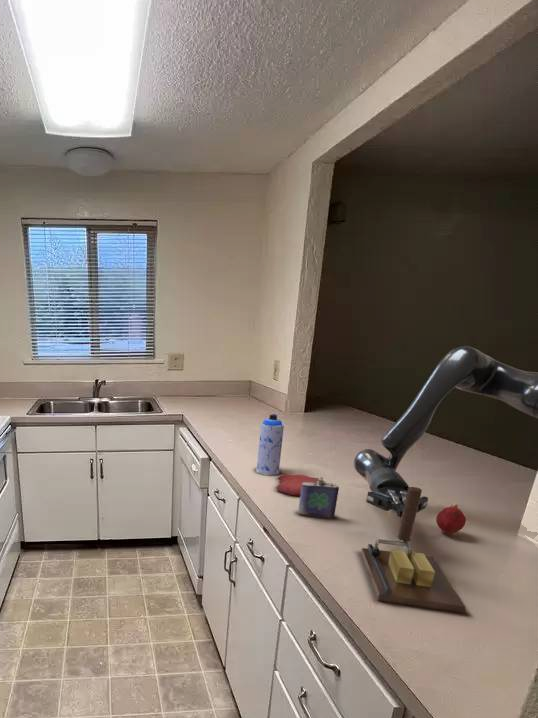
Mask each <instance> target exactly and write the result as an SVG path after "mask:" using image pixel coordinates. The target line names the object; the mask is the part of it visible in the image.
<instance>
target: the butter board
mask: <svg viewBox="0 0 538 718" xmlns="http://www.w3.org/2000/svg"><path fill="white" fill-rule="evenodd" d="M370 546H373V544H372V543H368V544H367V548H366V547H362V548H361V551H360V555H361V557H362V560H363V563H364V566H365V568H366V571H367V575H368V577H369V579H370V582H371V586H372V588H373V590H374V594H375V596H376V599H377V601H381V602H386V603H387V602H388V603H393V604H400V605H406V606H414V607H420V608H426V609H433V610H440V611H446V612H453V613H459V614H464V612H465V609H466V605H465V604H464V603H463V601H462V599H461V598H460V596H459V595H458V593H457V592H456V590H455V588H454V587H453V585H452V584H451V583H450V581H449V579H448V578H447V577H446V575H445V573H444V572H443V570H442V569H441V567H440V566H439V564H438V562H437V561H436V560H435V558H434V557H433V556H431V555H425V554H424V553H421V552H413V551H411V552H409V557H407V555H406V553H405V551H399V550H398V549H397V550H396V549H390V551H389V550H382V549H379V551H380V556H372V555H371V553H370V551H369V548H370Z"/></svg>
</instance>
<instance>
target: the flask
mask: <svg viewBox="0 0 538 718" xmlns="http://www.w3.org/2000/svg"><path fill="white" fill-rule="evenodd" d="M323 479H324V477H323V476H320V477H318V481H317V483H303V484H302V488H301V496H299V502H298V503H299V504H298V511H297V513H298V515H302V516H304V517H307V516H309V517H317V518H318V517H320V518H328V519H333V518H335V514H336V509H337V501H338V495H339V490H340V487H339V486H338V485H337V484H335V483H332V482H326V481H325V480H323Z"/></svg>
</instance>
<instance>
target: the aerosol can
mask: <svg viewBox="0 0 538 718" xmlns="http://www.w3.org/2000/svg"><path fill="white" fill-rule="evenodd" d="M284 428H285V425H284V423H283V421H282V420H281V419H279V418H278V415H277V414H275V413H271V414H269V417H267V418H266V419H264V420H263V421H262V422H261V424H260V430H259V431H260V432H259V441H258V451H257V463H256V468H255V471H256V473H258V474H261V475H265V476H276V475H280V465H281V457H282V447H283V438H284V430H285V429H284Z"/></svg>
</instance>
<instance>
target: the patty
mask: <svg viewBox="0 0 538 718" xmlns="http://www.w3.org/2000/svg"><path fill="white" fill-rule="evenodd" d="M318 479H319V477H314V476H309V475H305V474H291V473H283V474H279V475H278V480H279V481H278V483H279V484H277V486H276V489H277V491H278V492H280V493H282V494H284V495H288V496H295V497H300V496H301V488H302V484H303V483H317V481H318Z"/></svg>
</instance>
